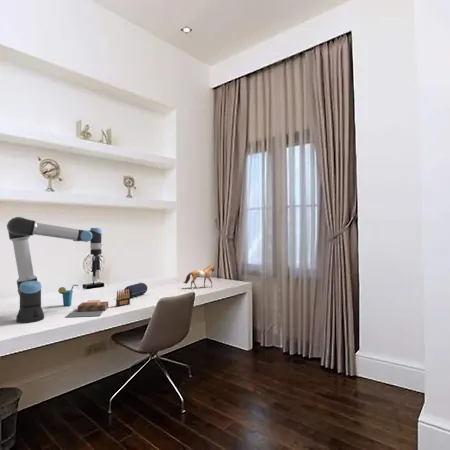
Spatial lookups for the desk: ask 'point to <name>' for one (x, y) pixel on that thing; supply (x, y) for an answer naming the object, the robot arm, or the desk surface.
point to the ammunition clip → (122, 298)
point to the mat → (84, 314)
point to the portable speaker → (136, 289)
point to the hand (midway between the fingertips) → (96, 279)
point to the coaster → (92, 302)
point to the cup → (66, 295)
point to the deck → (92, 307)
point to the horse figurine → (200, 275)
